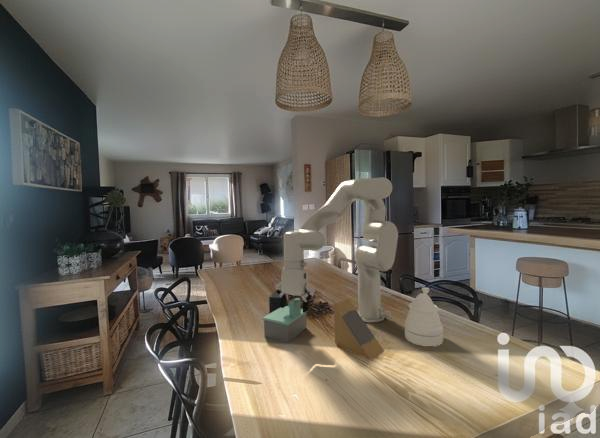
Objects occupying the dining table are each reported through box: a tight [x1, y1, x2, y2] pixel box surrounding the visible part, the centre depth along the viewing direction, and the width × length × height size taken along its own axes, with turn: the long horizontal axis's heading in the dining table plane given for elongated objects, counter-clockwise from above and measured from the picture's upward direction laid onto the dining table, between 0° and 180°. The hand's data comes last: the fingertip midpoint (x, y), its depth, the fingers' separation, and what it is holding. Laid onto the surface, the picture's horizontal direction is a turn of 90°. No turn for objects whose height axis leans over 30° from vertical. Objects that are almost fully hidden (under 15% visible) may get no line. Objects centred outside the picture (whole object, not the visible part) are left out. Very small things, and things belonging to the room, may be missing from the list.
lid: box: [262, 297, 308, 325], centre depth 110 cm, size 11×14×8 cm
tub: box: [263, 312, 307, 343], centre depth 110 cm, size 11×14×7 cm
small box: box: [268, 289, 289, 314], centre depth 128 cm, size 11×6×10 cm, turn 168°
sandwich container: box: [333, 297, 385, 361], centre depth 98 cm, size 9×15×15 cm, turn 44°
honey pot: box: [404, 287, 444, 347], centre depth 104 cm, size 13×13×18 cm
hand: (294, 309), depth 108 cm, fingers open, 9 cm apart
